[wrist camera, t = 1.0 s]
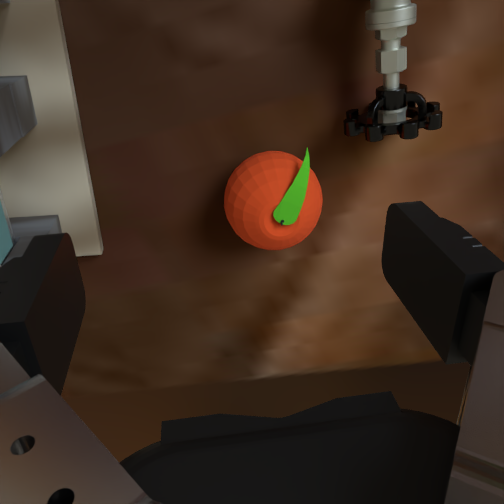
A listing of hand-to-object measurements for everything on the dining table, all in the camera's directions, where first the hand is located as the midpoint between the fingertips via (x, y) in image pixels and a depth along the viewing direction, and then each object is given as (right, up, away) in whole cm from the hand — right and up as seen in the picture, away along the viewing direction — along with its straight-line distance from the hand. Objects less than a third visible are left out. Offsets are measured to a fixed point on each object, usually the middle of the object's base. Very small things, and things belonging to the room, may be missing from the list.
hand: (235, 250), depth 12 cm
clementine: (+2, +6, +24) cm, 25 cm away
